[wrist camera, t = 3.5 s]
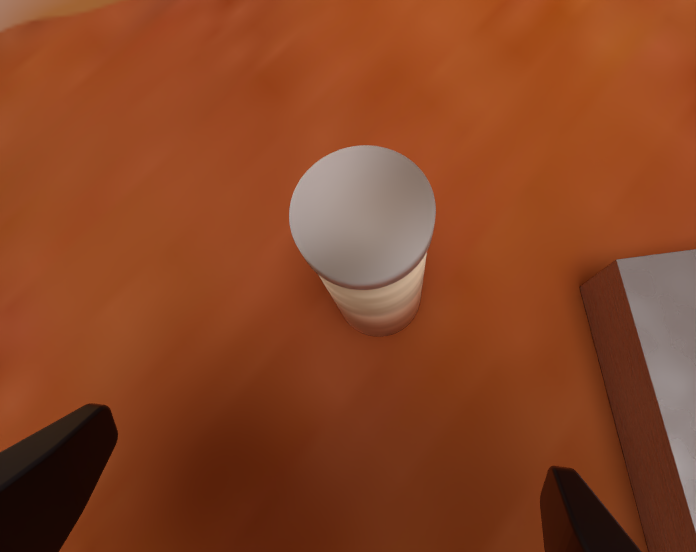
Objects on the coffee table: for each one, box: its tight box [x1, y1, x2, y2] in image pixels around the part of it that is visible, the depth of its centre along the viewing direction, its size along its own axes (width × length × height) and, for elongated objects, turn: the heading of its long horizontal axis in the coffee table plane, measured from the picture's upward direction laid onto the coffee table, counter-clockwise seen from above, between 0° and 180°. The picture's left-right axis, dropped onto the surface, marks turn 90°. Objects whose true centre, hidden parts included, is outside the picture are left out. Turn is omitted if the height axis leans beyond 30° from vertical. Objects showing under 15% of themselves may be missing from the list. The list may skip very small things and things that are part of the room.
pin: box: [289, 145, 436, 336], centre depth 18 cm, size 4×4×10 cm
